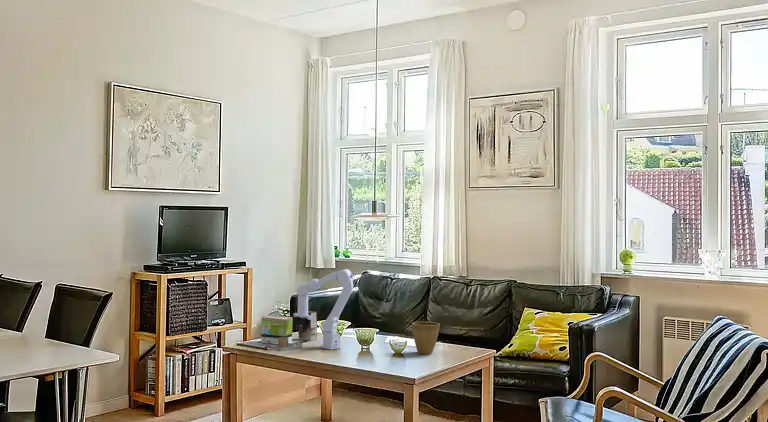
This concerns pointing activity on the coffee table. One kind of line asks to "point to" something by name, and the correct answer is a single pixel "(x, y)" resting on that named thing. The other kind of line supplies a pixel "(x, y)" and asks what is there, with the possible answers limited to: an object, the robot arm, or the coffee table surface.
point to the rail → (296, 346)
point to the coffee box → (311, 328)
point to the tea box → (276, 328)
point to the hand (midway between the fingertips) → (302, 331)
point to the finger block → (301, 330)
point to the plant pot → (425, 336)
